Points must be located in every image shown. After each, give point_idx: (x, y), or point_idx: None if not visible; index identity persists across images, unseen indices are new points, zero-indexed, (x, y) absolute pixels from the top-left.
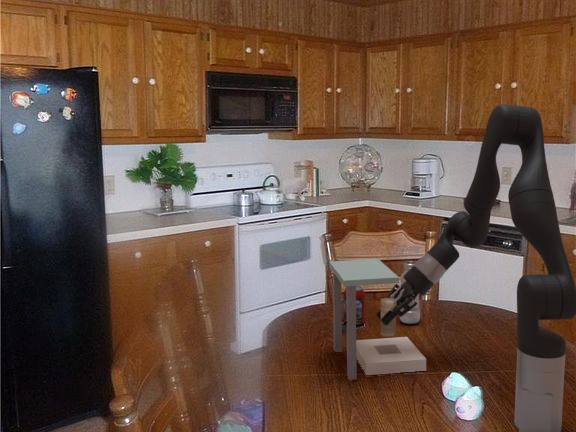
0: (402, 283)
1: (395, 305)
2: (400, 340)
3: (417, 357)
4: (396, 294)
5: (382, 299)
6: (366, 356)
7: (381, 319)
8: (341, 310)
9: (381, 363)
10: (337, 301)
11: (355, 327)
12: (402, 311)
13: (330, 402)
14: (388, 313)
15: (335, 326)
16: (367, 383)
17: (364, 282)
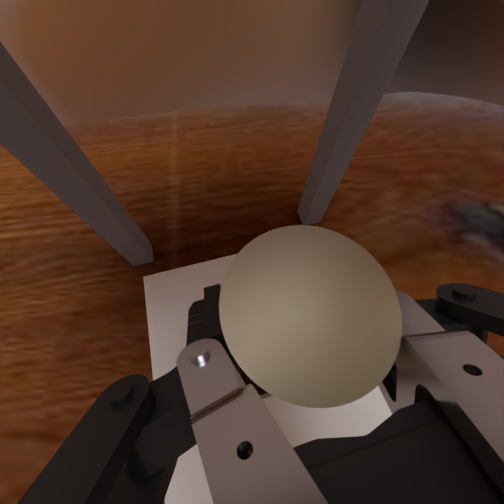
0: None
1: (190, 399)
2: (367, 407)
3: (188, 487)
4: (468, 439)
5: (323, 243)
6: (198, 276)
7: (209, 287)
8: (344, 118)
9: (149, 326)
10: (354, 60)
11: (8, 148)
12: (151, 486)
13: (31, 217)
14: (206, 326)
15: (315, 156)
16: (114, 293)
17: None
